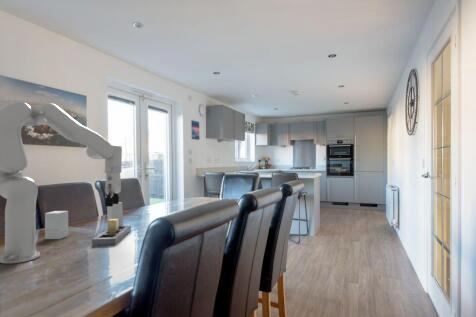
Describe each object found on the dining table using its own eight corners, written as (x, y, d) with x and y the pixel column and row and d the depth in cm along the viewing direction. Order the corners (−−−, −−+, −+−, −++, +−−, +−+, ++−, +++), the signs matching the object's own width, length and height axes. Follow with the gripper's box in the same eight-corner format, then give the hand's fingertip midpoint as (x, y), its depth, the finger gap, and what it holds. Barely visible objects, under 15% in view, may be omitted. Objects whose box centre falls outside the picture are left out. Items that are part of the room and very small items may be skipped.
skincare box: (123, 229, 165) (123, 202, 165) (112, 231, 161) (112, 203, 161) (117, 227, 171) (117, 200, 171) (106, 228, 167) (106, 201, 167)
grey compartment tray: (115, 245, 133) (115, 238, 133) (91, 246, 132) (91, 239, 132) (130, 231, 161) (130, 225, 161) (111, 231, 160) (111, 225, 160)
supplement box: (68, 235, 151) (69, 210, 151) (58, 239, 144) (58, 213, 144) (55, 235, 152) (55, 210, 152) (44, 239, 144) (44, 213, 144)
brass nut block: (116, 238, 144) (116, 220, 145) (107, 239, 144) (107, 220, 144) (118, 236, 148) (118, 218, 149) (110, 237, 148) (110, 218, 148)
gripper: (115, 170, 138) (115, 207, 138) (125, 170, 156) (124, 203, 155) (98, 170, 138) (97, 207, 137) (110, 169, 155) (109, 203, 154)
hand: (112, 205), depth 146 cm, fingers open, 9 cm apart
